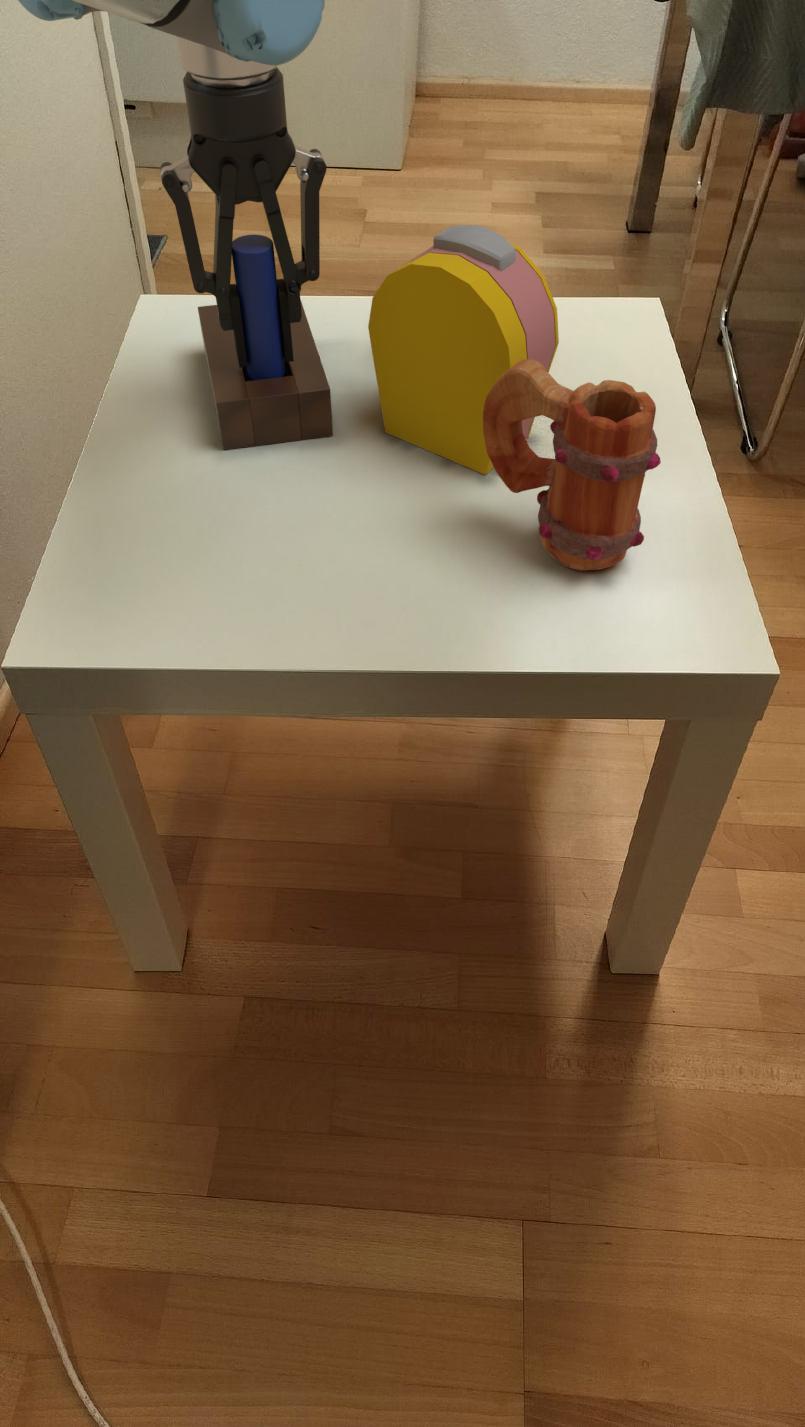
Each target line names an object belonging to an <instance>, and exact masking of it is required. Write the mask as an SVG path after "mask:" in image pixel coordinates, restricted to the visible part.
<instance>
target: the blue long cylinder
mask: <svg viewBox="0 0 805 1427" xmlns="http://www.w3.org/2000/svg"><path fill="white" fill-rule="evenodd" d="M232 264H233V265H232V267H233V274H234V282H235V284H236V290H237V293H238V296H239V302H240V310H241V318H242V325H243V333H244V341H245V349H246V357H247V365H248V367H247V374H248V376H249V377H250V378H251V379H253V380H262V379H270V378H278V377H282V376H283V375H284V374H285V372H286V368H285V358H284V350H283V339H282V329H281V319H280V309H279V299H278V287H277V279H278V278H277V268H276V258H275V245H274V242H273V239H271V238H270V237H268V236H266V235H263V234H244V235H241V236H238V237H236V238H234V239H233V240H232Z"/></svg>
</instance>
